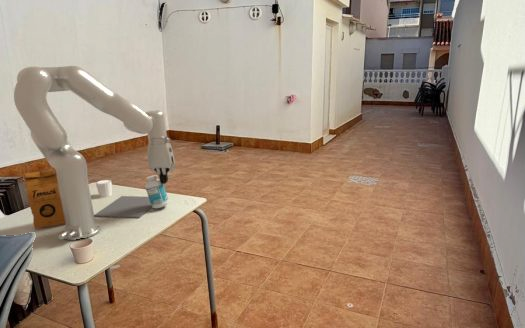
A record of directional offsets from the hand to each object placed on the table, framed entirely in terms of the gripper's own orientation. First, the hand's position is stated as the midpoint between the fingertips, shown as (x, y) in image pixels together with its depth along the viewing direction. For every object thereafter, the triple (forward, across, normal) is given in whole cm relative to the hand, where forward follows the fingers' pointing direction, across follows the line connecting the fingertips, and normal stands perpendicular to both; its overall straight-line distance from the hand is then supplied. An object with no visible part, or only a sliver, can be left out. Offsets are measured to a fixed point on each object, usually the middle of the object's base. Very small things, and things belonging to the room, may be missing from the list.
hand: (164, 182), depth 146 cm
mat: (+11, +17, +1) cm, 20 cm away
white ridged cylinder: (+11, +37, -11) cm, 40 cm away
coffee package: (+10, +39, +21) cm, 46 cm away
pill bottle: (+10, +3, +1) cm, 11 cm away
